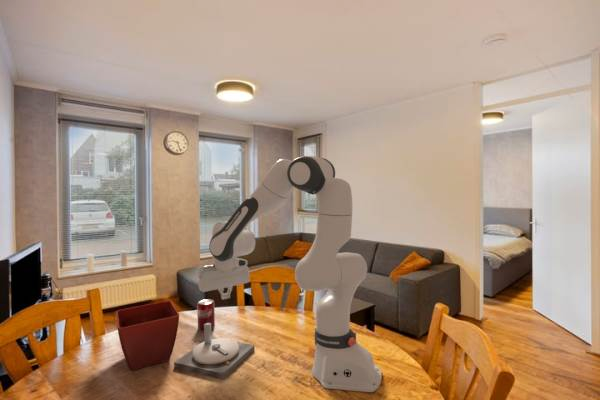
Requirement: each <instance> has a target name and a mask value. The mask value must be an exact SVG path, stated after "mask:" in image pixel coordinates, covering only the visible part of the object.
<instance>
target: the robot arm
mask: <svg viewBox="0 0 600 400" xmlns="http://www.w3.org/2000/svg"><path fill="white" fill-rule="evenodd" d="M295 189H297V190H300V191H302V192H305V193H307V194H308V195H315V196H316V197H317V205H318V206H317V218H316V219H317V221H316V232H315V237H314V240H313V243H312V245H311V246H310V248H309V250H308V252H307V253H306V254H305V255H304V256H303V257H302V258H301V259H300V260H299V261H297V264H296V266H295V269H294V277H295V281H296V283H297V285H298V287H299V288H300V289H301V290H304V291H311V292H320V291H324V290H325V291H326V290H327V291H326V292H325V294H324V296H323V297H322V298H321V299H320V300H319V301H318V302H317V304H316V306H315V328H314V345H315V353H314V361H313V364H312V368H311V374H312V376H313V377H314V378H315V379H316V380H318V382H320V384H321V387H323V388H324V389H329V390H341V391H343V390H344V391H350V392H351V391H353V392H364V393H373V392H375V391H377V390H378V389H379V387H380V386H381V383H382V378H383V374H382V370H381V368H380V367H379V366H378V365H377V364H375V363H374V358H373V355H372V353H371V352H370V351H369V350H367V349H366V348H365V347H364V346H363V345H361V344H360V343H359V342H358V341H357V331H356V330H355V331H353V330H352V329H351V325H350V322H351V319H350V318H351V307H352V306H351V305H352V301H353V299H354V295H355V294H356V291H357V289H358V287H359V285H360V284H361V283H362V282H363V281H364V280H365V279H366V277H367V273H368V264H367V262H366V260H365V258H364V256H362V255H361V254H360V253H356V252H349V251H347V252H346V251H345V252H339V251H340V249H341V248H342V247H343V246H344V245H346V243H348V242H349V240H350V238H351V236H352V226H353V225H352V223H353V222H352V221H353V195H352V188H351V184H350V183H349V182H348V181H347V180H344V179H342V178H338V177H337V178H336V168H335V166H334V164H333V163H332V162H331V161H330V160H328V159H326V158H324V157H319V156H315V155H309V156H308V155H302V156H300V157H297V158H294V160H290V159H287V158H280V159H279V160H277V161H276V162H274V164H272V166H271V168H269V170H268V171H267V172H266V173H265V174H264V177H263V178H262V180H261V182H259V184H258V186H257V187H256V188H255V189H254V191H253V192H252V193H251V194H250V195H249V196H248V197H247V198H245V200H244V201H243V202H242V203H241V204H240V205H239V206H238V207H237V209H236V210H235V211H234V212H233V214H232V215H231V216H230V218H229V219H228V220H227V221H221V222H216V223H215V224H214V225H213V227H212V234H211V235H212V236H211V239H210V241H209V247H208V248H209V251H210V254H211V255H212V264H211V265H204V266H202V267H201V268H199V270H198V290H199V291H201V292H202V293H206V292H211V291H216V290H218V292H219V294H220V298H221V300H227V299H231V294H232V293H231V292H232V291H233V288H234V287H235V286H240V285H244V284H248V283H249V282H250V280H251V277H250V276H251V275H250V268H249V266H248V260H247V259H244V258H241V257H242V256H248V255H250V254H252V253H253V252H254V250H255V249H256V244H257V240H256V237H255V235H254V233H253V232H252V231H250V230H248V229H247V230H246V228H247V227H248V225H250V224H251V223H252V222H253V221H254V220H257V219H258V218H261V217H264V216H267V215H269V214H272V213H275V212H277V211H278V210H280V209H281V208H282V207H283V205H284V204H285V203H286V202H287V201H288V200H289V198H290V197H291V194H292V193H293V191H294V190H295ZM225 289H227V291H226V292H225V293H224V291H225Z"/></svg>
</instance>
